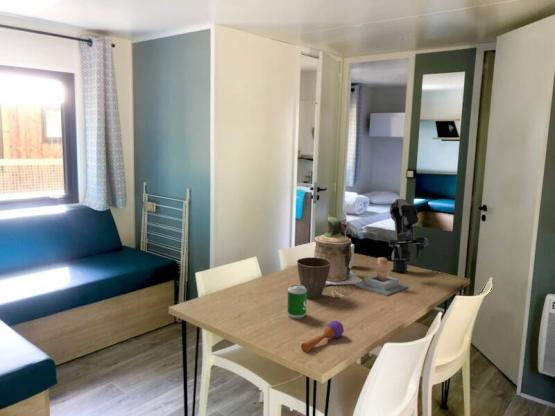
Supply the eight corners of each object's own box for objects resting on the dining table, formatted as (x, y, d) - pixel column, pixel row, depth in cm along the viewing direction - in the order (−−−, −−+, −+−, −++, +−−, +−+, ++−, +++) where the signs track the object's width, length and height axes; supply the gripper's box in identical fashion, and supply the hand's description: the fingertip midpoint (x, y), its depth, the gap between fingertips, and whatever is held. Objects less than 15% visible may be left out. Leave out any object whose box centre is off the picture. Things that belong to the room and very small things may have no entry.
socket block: (354, 286, 220) (355, 278, 219) (375, 278, 232) (376, 271, 231) (386, 295, 207) (387, 287, 206) (407, 287, 219) (407, 279, 219)
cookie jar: (316, 287, 218) (318, 221, 213) (301, 272, 241) (303, 212, 236) (364, 284, 224) (367, 220, 219) (344, 269, 247) (347, 211, 242)
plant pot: (335, 296, 205) (337, 262, 202) (315, 304, 194) (316, 268, 192) (310, 288, 215) (311, 255, 213) (289, 296, 204) (290, 261, 202)
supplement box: (337, 267, 251) (338, 245, 249) (340, 264, 258) (341, 242, 256) (350, 269, 248) (351, 246, 246) (353, 265, 255) (354, 243, 253)
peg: (374, 283, 221) (376, 257, 219) (382, 283, 222) (384, 257, 220) (379, 286, 217) (380, 260, 215) (387, 285, 218) (389, 259, 216)
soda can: (300, 321, 176) (301, 291, 175) (283, 316, 180) (284, 287, 179) (309, 314, 183) (310, 286, 181) (293, 310, 187) (293, 282, 185)
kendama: (296, 338, 153) (332, 317, 167) (299, 355, 153) (334, 333, 167) (310, 340, 149) (345, 319, 163) (313, 357, 149) (347, 335, 163)
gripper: (383, 227, 228) (383, 258, 225) (419, 223, 216) (420, 256, 213) (393, 231, 236) (394, 261, 233) (428, 228, 225) (429, 259, 221)
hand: (408, 259), depth 225 cm, fingers open, 9 cm apart
